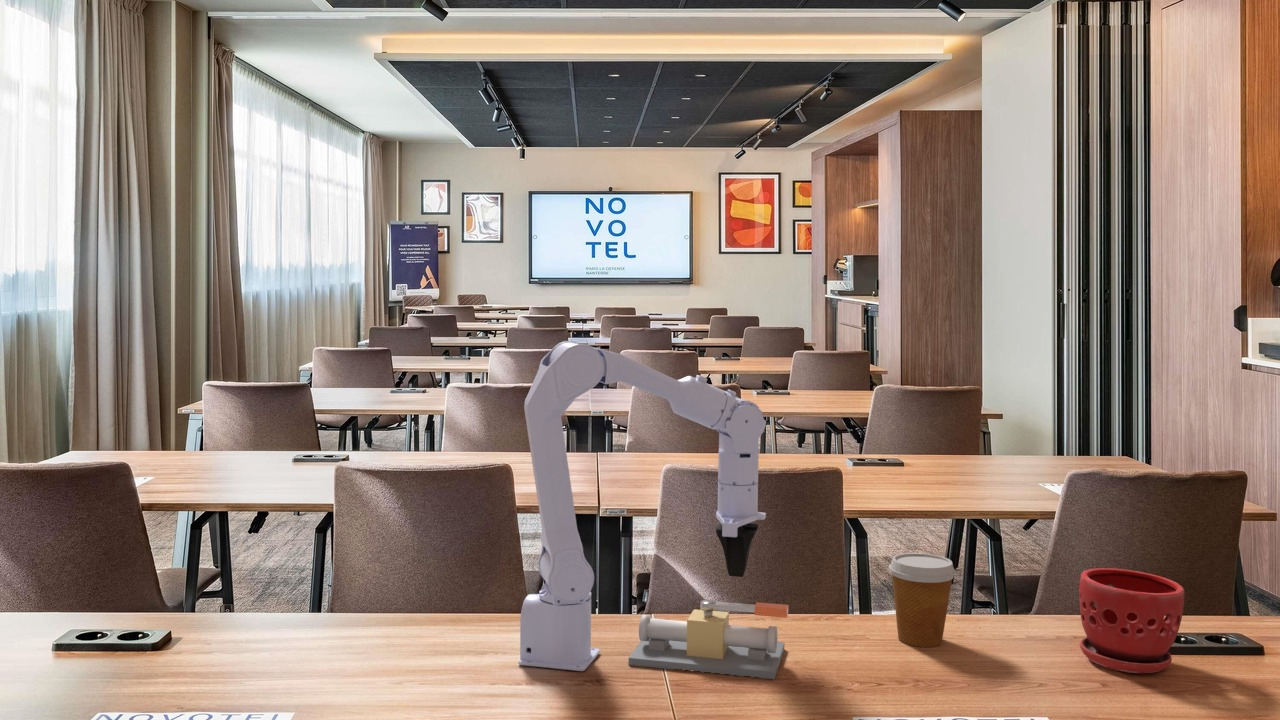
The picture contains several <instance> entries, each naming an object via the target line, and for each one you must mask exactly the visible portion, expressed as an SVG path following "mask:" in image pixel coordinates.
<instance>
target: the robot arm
mask: <svg viewBox="0 0 1280 720" xmlns="http://www.w3.org/2000/svg"><path fill="white" fill-rule="evenodd" d="M707 381H708V378H706V377H704V376H703V375H699V374H696V376H695V377H694V376H691V375H687V376H685V377H682V378H680V379H675V378H674V377H673V378H672V377H670V376H668V375H666V374H665V373H662V372H660V371H658V370H655V369H654V368H651V367H649V366H647V365H645V364H643V363H642V362H639V361H637V360H635V359H632V358H631V357H629V356H626V355H624V354H621V353H617V352H614V351H609V350H606V349H602V348H598V347H594V346H591V345H588V344H585V343H580V342H576V341H573V340H564V341H562V342H559V343H557V344H556V345H555V346H553V347H552V349H550V351H548V352H547V353H546V354H545V356H544V357H543V358H541V360H540V363H539V366H538V369H537V373H536V375H535V377H534V380H533V382H532V384H531V386H530V389H529V391H528V393H527V396H526V398H525V400H524V404H523V405H524V406H523V407H524V408H523V410H524V417H525V421H526V422H525V423H526V430H527V435H528V436H527V437H528V442H529V449H530V457H531V462H532V463H531V464H532V469H533V470H532V471H533V476H534V484H535V489H536V490H535V491H536V497H537V498H536V499H537V503H538V510H539V518H540V524H541V534H540V541H541V549H540V550H541V552H540V555H539V556H538V562H537V567H538V572H539V574H540V576H541V578H542V579H543V580H544V581H545V582H544V583H543V584H542V586H541V589H540V590H539V591H538V592H539V593H530V594H527V595H526V597H525V598H524V600H523V603H522V607H521V612H520V620H519V621H520V623H519V625H520V628H519V629H520V630H519V631H520V632H519V634H520V635H519V636H520V639H519V640H520V641H519V642H520V644H519V645H520V650H519V651H520V652H519V654H520V656H519V660H518V661H517V663H518V665H519V666H527V667H529V666H530V667H539V668H545V669H546V668H548V669H558V670H565V671H566V670H568V671H577V672H585V670H587V668H588V667H589V666H590V665H591V663H593V661H594V660H595V659H596V657H597V656H598V655H599V654H600V653H601V649H600V648H596V647H595V648H594V647H592V645H591V644H592V592H591V591H592V590H593V586H594V583H595V572H594V570H593V568H592V566H591V565H590V563H589V562H588V561H587V559H586V557H585V554H584V547H583V543H582V541H581V537H580V533H579V531H578V525H577V517H576V510H575V504H574V498H573V497H574V496H573V490H572V482H571V478H570V477H571V475H570V470H569V469H570V468H569V463H568V462H569V461H568V456H567V450H566V449H567V448H566V442H565V435H564V428H563V421H562V420H563V419H562V415H563V414H564V413H565V412H566V411H567V409H568V408H569V407H570V406H571V405H572V404H573V403H574V401H575V400H576V399H577V398H579V397H580V396H582V395H584V394H586V393H587V392H588V391H590V390H592V389H593V388H595V387H596V386H597V385H598V384H599V383H602V384H604V385H609V384H615V383H619V382H621V383H624V384H628V385H629V386H633V387H635V388H638V389H639V390H643V391H644V392H647V393H650V394H653V395H655V396H658V397H659V398H663V399H665V400H667V401H668V403H669V405H670V407H671V410H672V412H673V413H674V414H675V415H678V416H680V417H682V418H685V419H687V420H690V421H692V422H694V423H696V424H699V425H701V426H703V427H706V428H709V429H711V430H716V431H717V432H718V433H719V435H718V438H719V439H718V457H717V458H718V461H717V462H718V467H717V469H718V470H717V471H718V472H717V473H718V474H717V510H716V512H715V513H716V514H715V515H716V516H715V517H716V519H717V520H718V521H719V522H720V524H719V525H717V526H716V528H715V533H716V536H717V537H718V539H719V541H720V544H721V547H722V550H723V554H724V558H725V564H726V569H727V574H728V576H729V577H737V578H744V576H745V573H746V570H747V565H748V560H749V555H750V550H751V545H752V543H753V540H754V537H755V535H756V533H757V531H758V529H759V524H757V523H753V522H756V521H757V520H758V521H759V520H760V521H763V520H765V519H766V518H767V513H766V512H761V511H758V510H759V509H758V505H759V504H758V503H759V499H758V498H759V455H760V454H759V453H760V451H759V439H760V437H761V435H762V434H763V433H764V431H765V429H766V425H767V420H765V419H764V415H763V411H762V409H761V408H760V406H759V405H758V404H756V403H754V402H752V401H749V400H746V399H742V398H739V396H737V393H736V391H734V390H731V389H727V390H723V389H721V388H720V387H716V386H714V385H713V384H709V383H707Z"/></svg>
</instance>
